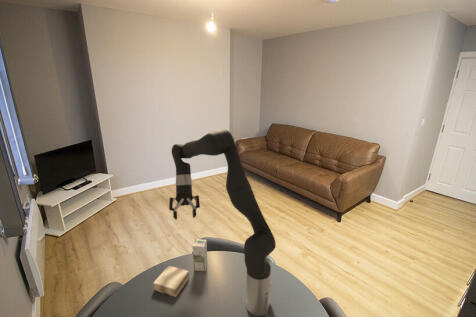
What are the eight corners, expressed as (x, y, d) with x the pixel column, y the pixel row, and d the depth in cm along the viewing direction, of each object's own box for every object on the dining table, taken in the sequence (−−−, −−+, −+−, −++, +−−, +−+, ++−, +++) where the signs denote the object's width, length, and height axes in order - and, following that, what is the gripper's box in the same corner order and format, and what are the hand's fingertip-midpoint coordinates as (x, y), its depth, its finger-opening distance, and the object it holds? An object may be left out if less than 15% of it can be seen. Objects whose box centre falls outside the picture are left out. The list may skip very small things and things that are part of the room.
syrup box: (207, 263, 117) (206, 238, 113) (205, 272, 111) (203, 246, 107) (196, 262, 117) (195, 238, 113) (193, 271, 112) (192, 245, 108)
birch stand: (189, 278, 108) (188, 271, 106) (175, 297, 97) (175, 289, 96) (169, 272, 111) (168, 265, 110) (154, 290, 101) (153, 282, 100)
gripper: (169, 184, 105) (171, 221, 103) (200, 183, 111) (201, 217, 109) (167, 185, 112) (168, 219, 110) (196, 184, 118) (197, 216, 116)
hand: (185, 218), depth 109 cm, fingers open, 8 cm apart
